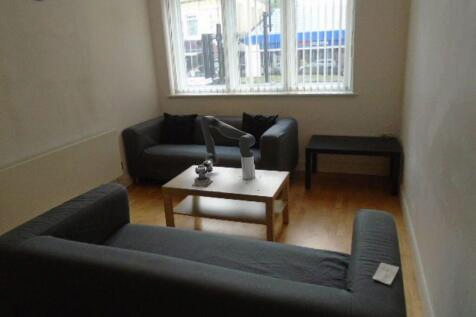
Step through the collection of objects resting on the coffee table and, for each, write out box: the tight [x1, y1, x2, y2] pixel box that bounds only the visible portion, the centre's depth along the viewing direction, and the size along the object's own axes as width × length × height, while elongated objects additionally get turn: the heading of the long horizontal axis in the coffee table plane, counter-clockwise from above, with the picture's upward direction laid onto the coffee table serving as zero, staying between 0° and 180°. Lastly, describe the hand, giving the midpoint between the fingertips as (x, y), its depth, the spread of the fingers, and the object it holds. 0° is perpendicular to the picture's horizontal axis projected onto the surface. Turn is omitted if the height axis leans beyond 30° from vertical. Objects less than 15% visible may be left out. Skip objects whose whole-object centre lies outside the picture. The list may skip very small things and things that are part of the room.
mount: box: [191, 175, 214, 188], centre depth 279 cm, size 12×12×4 cm
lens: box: [197, 164, 207, 180], centre depth 277 cm, size 5×5×12 cm
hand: (200, 173), depth 275 cm, fingers closed on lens, 5 cm apart
